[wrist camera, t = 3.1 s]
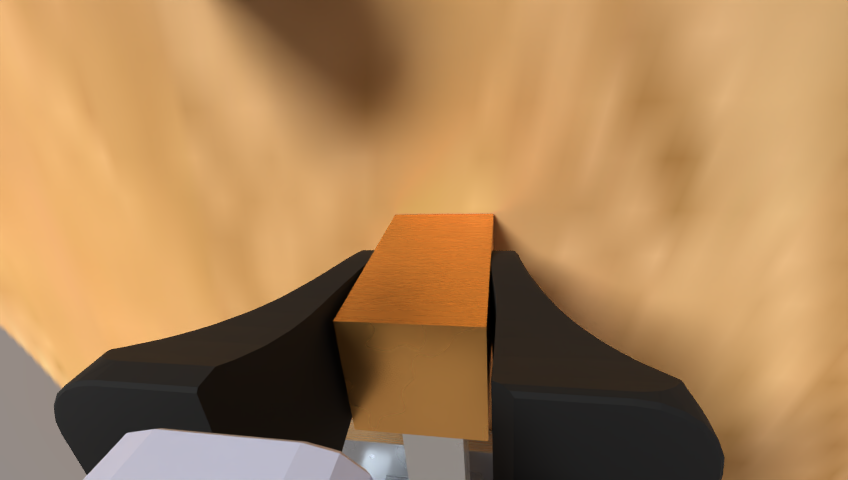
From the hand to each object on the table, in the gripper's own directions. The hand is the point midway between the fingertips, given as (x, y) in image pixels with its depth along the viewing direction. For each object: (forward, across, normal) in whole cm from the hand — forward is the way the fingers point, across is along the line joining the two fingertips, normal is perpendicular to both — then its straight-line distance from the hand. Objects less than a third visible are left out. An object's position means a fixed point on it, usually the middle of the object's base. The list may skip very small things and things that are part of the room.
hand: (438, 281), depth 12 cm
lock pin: (+2, 0, +6) cm, 6 cm away
